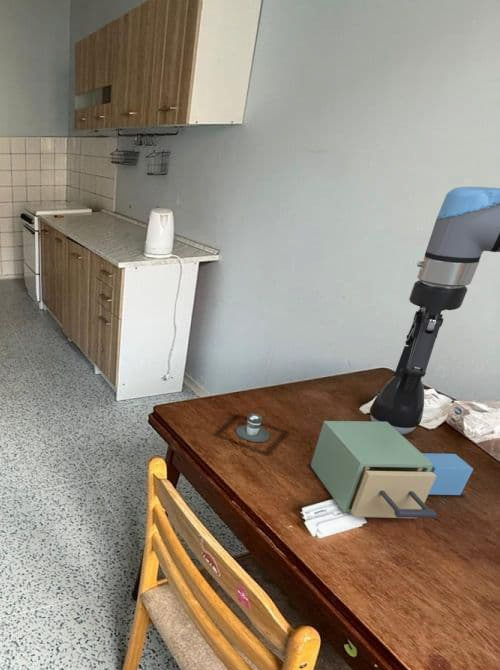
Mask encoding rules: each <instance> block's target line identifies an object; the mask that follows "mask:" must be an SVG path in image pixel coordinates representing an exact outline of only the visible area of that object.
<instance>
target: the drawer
mask: <svg viewBox="0 0 500 670" xmlns="http://www.w3.org/2000/svg"><path fill="white" fill-rule="evenodd" d="M422 469H423V468H411V467H364V468H363V471H362V473H361V476H360V479H359V482H358V484H357V487H356V490H355V493H354V495H353V498H352V501H351V504H350V505H351V506H353V507H352V510H351V512H350V514H351V515H352V517H354V518H387V519H388V518H390V519H436V518H437V516H438V514H437V510H435V509H430V507H429V506H427V505H426V501H427V499H428V496H429V495H430V494H429V492H430V490H431V488H432V485H433V483H434V481H435V479H436V477H437V476H436V475H435V474H434V473H433V472H422Z"/></svg>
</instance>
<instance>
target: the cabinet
mask: <svg viewBox="0 0 500 670" xmlns="http://www.w3.org/2000/svg"><path fill="white" fill-rule="evenodd" d="M422 453H423V452H421V451H420V450H419V449H417V447H416V446H414V445H413V444H412V443H411V442H410V441H409V440H408V439H407V438H406V437H405V436H403V435H401V434H400V433H399V432H398V431H397V430H396V429H394V428H393V427H392V426H391V425H390V424H389V423H388V422H372V421H371V420H370V421H365V420H363V421H361V420H357V421H356V420H323V423H322V426H321V430H320V433H319V436H318V439H317V443H316V446H315V450H314V453H313V456H312V458H311V459H312V460H311V463H310V467H311V469H312V470H313V471H314V473H315V474H316V475H317V477H318V478H319V480H320V481H321V483H322V484H323V486H324V488H326V490H327V491H328V493H329V494H330V495H331V497H332V498H333V500H334V502H336V504H337V505H338V507H339V508H340V509H341V511H342V512H343V513H351V510H352V507H353V506H351V505H350V504H351V501H352V498H353V495H354V493H355V490H356V487H357V484H358V482H359V479H360V476H361V473H362V471H363V468H364V467H411V468H423V469H422V472H431V470H432V467H433V465H434V464H433V463H432V462H431V461H429V460H428V459H427V458H426V457H425V456H424V455H423V454H422Z"/></svg>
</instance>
